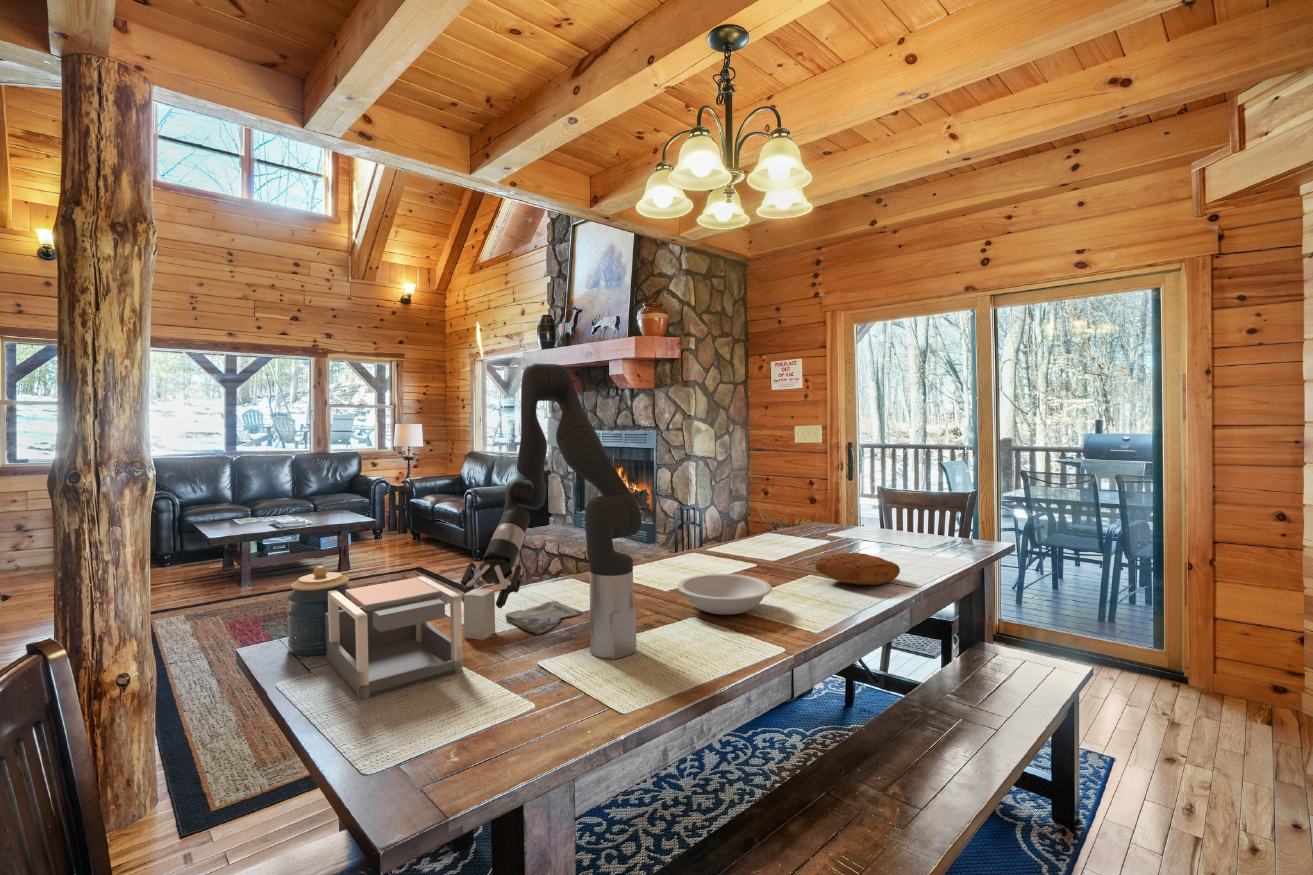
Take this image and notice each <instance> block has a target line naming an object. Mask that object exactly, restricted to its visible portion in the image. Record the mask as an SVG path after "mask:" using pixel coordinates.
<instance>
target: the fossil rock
mask: <svg viewBox="0 0 1313 875" xmlns="http://www.w3.org/2000/svg"><path fill="white" fill-rule="evenodd" d="M583 614H584V612H583V611H581V610H580V609H576V608H573V607H571V606H568V605H566V604H564V603H561V602H559V601H557V600H553V601H547V602H545V603H542V604H541V605H538V606H532V607H529V608H527V609H524V610H523V609H518V610H514V611H511V612H507V613H505V615H504V616H505V620H506V621H507V622H509V623H511V624H512V625H516V626H517V627H518V628H520V629H522V630H524V631H526V632H528V633H529V632H530V633H532V634H535V635H537V636H539V635H542V634H545V633H546V632H548V631H551V630H552V629H553V628H554V627H557V626H558V625H559V623H560V622H561V620H562V619H565V618H571V617H572V618H574V617H578V616H581V615H583Z"/></svg>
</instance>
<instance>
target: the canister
mask: <svg viewBox="0 0 1313 875" xmlns="http://www.w3.org/2000/svg"><path fill="white" fill-rule="evenodd" d="M349 581H350V578H349V577H348V576H346V575H343V574H342V573H341V572H337V571H336V572H335V571H328V569H327V568H326V567H325V566H324V565H318V566H316V567H315V568H314V570H313V573H310V574H306V575H303V576H302V575H301V576H299V578H298V579H297V580H295V581H294V582H292V583H291V585H290V588H291V589H292V591H291V592H289V593H287V596H286V600H287V601H288V602H289V608H288V610H287V612H286V615H287V624H288V625H287V626H288V627H287V628H288V629H287V630H288V638H287V647H288V648H289V649H288V651H289V652H290V653H291V654H293V655H296V656H304V657H305V656H317V655H326V620H325V613H328V592H329V591H334V590H337V591H338V592H339V593H341V594H342V595H343V596H345V597H346V598H347V599H348V600H350V601H351V602H352V603H353V604H355V602H354V601H353V600H351V599H350V598H349V597H347V596H346V595H345V590H348V589H354V587H353V586H351V585H350V584H348V582H349ZM340 610H343V609H342V608H341V607H340V606H339V611H340ZM295 637H296V638H295Z"/></svg>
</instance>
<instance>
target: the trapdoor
mask: <svg viewBox="0 0 1313 875" xmlns="http://www.w3.org/2000/svg"><path fill="white" fill-rule="evenodd" d="M345 595H346V596H347V597H349V598H350V599H351V600H352V601H353V602H354V604H355V605H357V606H358V607H362V608H363V609H364V610H365V611H366V612H367V611H372V610H373V627H374V628H375V629H377V630H378V631H379V632H383V631H387V630H392V629H396V628H401V627H405V626H410V625H414V624H419V623H424V622H426V623H428V622H433V621H437V620H441V619H445V618H446V602H445V601H443V600H442V599H440V598H443V596H442V592H441V591H439V590H437V589H435V588H434V587H432V586H430V585H428V584H426V583H424V582H422V581H420V580H419V579H417V578H415V577H412V578H407V579H401V580H396V581H388V582H385V583H384V582H383V583H378V584H372V585H366V586H359V587H353V589H348V590H345ZM407 603H408V604H407ZM402 604H403V605H402ZM397 605H398V606H397ZM392 606H393V607H392ZM387 607H388V608H387ZM382 608H383V609H382Z"/></svg>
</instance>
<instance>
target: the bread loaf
mask: <svg viewBox="0 0 1313 875" xmlns="http://www.w3.org/2000/svg"><path fill="white" fill-rule="evenodd" d="M814 569H815V570H816V572H818V573H819V574H821V575H824V576H826V577H828V578H830V579H832V580H834V581H838V582H843V583H846V584H853V585H857V586H858V585H859V586H877V585H883V584H887V583H889V582H892V581H894V580H896V578H897V577H898V576H899V574H900V572H901V568H900V566H899V565H898V564H897V563H895V562H893V561H889V560H888V559H884V558H882V557H879V556H874V555H871V554H868V553H860V552H849V553H848V552H841V553H835V554H830V555H827V556H826V555H825V556H822V557H821V558H819V559H818V560H817V561H816V563H815V567H814Z"/></svg>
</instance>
